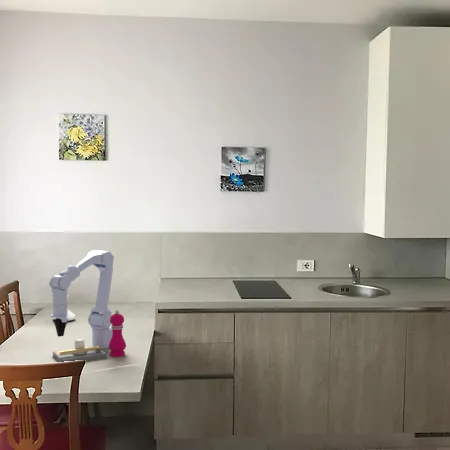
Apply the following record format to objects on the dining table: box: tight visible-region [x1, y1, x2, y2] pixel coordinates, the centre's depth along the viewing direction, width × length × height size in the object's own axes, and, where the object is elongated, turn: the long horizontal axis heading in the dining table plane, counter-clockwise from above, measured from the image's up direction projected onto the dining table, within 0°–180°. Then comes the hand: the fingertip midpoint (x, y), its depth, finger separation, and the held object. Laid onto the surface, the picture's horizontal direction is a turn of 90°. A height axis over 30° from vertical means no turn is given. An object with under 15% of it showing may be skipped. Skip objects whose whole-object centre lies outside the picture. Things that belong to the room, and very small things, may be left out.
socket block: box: [52, 346, 108, 363], centre depth 241 cm, size 19×14×3 cm
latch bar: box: [59, 345, 102, 355], centre depth 238 cm, size 17×2×1 cm, turn 120°
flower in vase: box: [53, 282, 77, 322], centre depth 311 cm, size 13×11×25 cm
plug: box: [74, 338, 87, 355], centre depth 241 cm, size 6×6×7 cm
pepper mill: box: [108, 309, 127, 358], centre depth 244 cm, size 7×7×20 cm
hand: (60, 336), depth 238 cm, fingers closed
